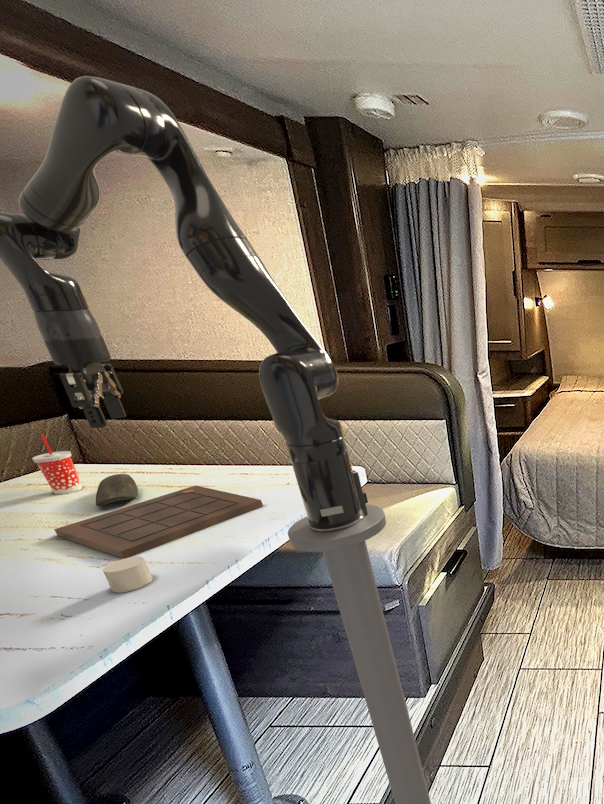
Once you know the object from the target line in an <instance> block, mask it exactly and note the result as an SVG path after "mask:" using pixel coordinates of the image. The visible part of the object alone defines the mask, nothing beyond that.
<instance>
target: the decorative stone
mask: <svg viewBox="0 0 604 804" xmlns="http://www.w3.org/2000/svg"><path fill="white" fill-rule="evenodd" d="M138 496H139V489H138V485H137V483H136V481H135V480H134V478H133V477H132V476H131V475H130V474H128V473H117V474H112V475H108V476H106V477H105V478H103V479H102V480H101V481H100V482H99V484H98V486H97V490H96V494H95V506H96V507H101V506H104V505H108V504H111V503H114V502H119V501H124V500H125V501H126V500H134V499H136V498H138Z"/></svg>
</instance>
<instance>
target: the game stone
mask: <svg viewBox="0 0 604 804" xmlns="http://www.w3.org/2000/svg"><path fill="white" fill-rule="evenodd" d="M102 573H103V575H104V577H105V579H106V581H107V583H108V585H109V588H110V589H111V591H112V592H113V593H117V594H120V593H127V592H132V591H135V590H138V589H140V588H142V587H145V586H147V585H148V584H150V583H151V582H152V581H153V579H154V578H153V575H152V573H151V571H150V569H149V566H148V563H147V562H146V560H145V558H144V557H143V556H130V557H127V558H125V559H124V558H121V559H118V560H116V561H113V562H111V563H108V564H107V565H105V566H104V567H103V568H102Z"/></svg>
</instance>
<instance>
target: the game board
mask: <svg viewBox="0 0 604 804" xmlns="http://www.w3.org/2000/svg"><path fill="white" fill-rule="evenodd" d="M261 507H264V505H263V501H262V499H259V498H255V497H249V496H245V495H241V494H237V493H232V492H228V491H223V490H218V489H215V488H209V487H205V486H201V485H191V486H189V487H186V488H182V489H179V490H176V491H173V492H170V493H166V494H164V495H160V496H157V497H153V498H149V499H146V500H144V501H141V502H138V503H135V504H131V505H128V506H124V507H122V508H121V507H120V508H119V509H114V510H112V511H111V510H110V511H108V512H105V513H102V514H99V515H96V516H92V517H89V518H86V519H83V520H79V521H76V522H73V523H70V524H66V525H63V526H60V527H56V528H54V532H55V533H56V536H57V537H59V538H63V539H65V540H68V541H70V542H74V543H77V544H81V545H82V546H85V547H89V548H90V549H95V550H98V551H100V552H104V553H106V554H109V555H112V556H115V557H118V558H121V559H125V558H130V557H134V556H135V555H137V554H140V553H144V552H145V551H148V550H150V549H153V548H156V547H159V546H161V545H165V544H167V543H169V542H172V541H174V540H178V539H180V538H183V537H185V536H187V535H190V534H193V533H196V532H199V531H201V530H204V529H206V528H209V527H212V526H214V525H217V524H219V523H222V522H224V521H227V520H230V519H233V518H235V517H238V516H241V515H242V514H243V515H244V514H246V513H248V512H251V511H254V510H256V509H259V508H261Z"/></svg>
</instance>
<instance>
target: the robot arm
mask: <svg viewBox="0 0 604 804" xmlns="http://www.w3.org/2000/svg"><path fill="white" fill-rule="evenodd" d="M49 140H50V141H49V144H48V148H47V150H46V153H45V155H44V158H43V161H42V162H41V164H40V166H38V167H39V168H38V169H37V171H36V172H35V173H34V175H33V176H32V177H31V178H30V180H29V181H28V183H27V184H26V185H25V186H24V188H23V189H22V190H21V193H19V196H18V200H17V201H18V206H19V209H20V210H21V212H22V213H11V212H2V211H1V212H0V263H1V264H2V265H3V266H4V267H5V268H6V269H7V271H8V272H9V273H10V275H11V276H12V278H13V279H14V280H15V281H16V283H17V284H18V285H19V286H20V287H21V289H22V291H23V293H24V295H25V298H26V300H27V303H28V304H29V307H30V309H31V311H32V314H33V317H34V320H35V324H36V327H37V329H38V332H39V333H40V336H41V339H42V340H43V342H44V344H45V347H46V350H47V352H48V354H49V356H50V358H51V360H52V363H53V364H55V365H57V366H67V367H68V371H69V372H66V373H60V374H59V378H60V380H61V382H62V385H63V387H64V390H65V392H66V394H67V397H68V399H69V402H70V404H71V407H73V408H79V409H80V410H82V411H83V414H84V416H85V418H86V420H87V422H88V425H89V427H90V428H91V429H100V428H105V427H107V426H108V425H109V424H108V422H107V420H106V417H105V415H104V413H103V410H102V407H101V406H100V398H102V400H103V403H104V406H105V407H106V410H107V413H108V415H109V417H110V418H111V419H113V420H114V419H124V418H125V417H127V413H126V411H125V409H124V406H123V404H122V401H121V398H122V394H124V389H123V387H122V385H121V383H120V380H119V377H118V376H117V374H116V371H115V369H114V367H113V365H112V363H104V362H109V361H110V360H111V359H112V356H111V354H110V351H109V349H108V346H107V344H106V341H105V339H104V336H103V334H102V332H101V329H100V326H99V324H98V322H97V320H96V318H95V317H94V315H93V313H92V311H91V310H90V307H89V305H88V303H87V300H86V297H85V295H84V293H83V290H82V288H81V286H80V284H79V282H78V281H77V280H76V279H75V278H74V277H72V276H69V275H65V274H60V273H54V272H51V271H48V270H47V269H46V268H44V266H43V265H41V263H39V261H38V260H41V261H42V260H43V261H63V260H67V259H69V258H71V257H73V256H74V255H75V254H76V253H77V252H78V249H79V243H80V238H81V237H80V236H81V231H82V230H81V229H82V226H83V224H84V223H85V222H86V221H87V220H88V219H89V218H90V216H91V215H92V214H93V213H94V211H95V210H96V209H97V207H98V205H99V202H100V199H101V190H100V189H101V188H100V184H99V181H98V179H97V175H96V172H95V169H96V167H97V165H98V164H99V162H101V161H102V160H103V159H104V158H106V157H107V156H108V155H110V154H111V153H117V154H122V155H128V156H135V157H141V158H146V159H147V160H148V161H149V162H150V163H151V164H152V165H153V166H154V168H155V169H156V170H157V172H158V174H159V175H160V176H161V178H162V180H163V181H164V183H165V184H166V186H167V188H168V189H169V192H170V193H171V195H172V198H173V203H174V212H175V213H174V214H175V216H174V217H175V218H174V219H175V220H174V222H175V223H174V224H175V234H176V239H177V243H178V245H179V248H180V250H181V252H182V254H183V255H184V256H185V258H186V260H187V261H188V262H189V264H190V265H191V267H192V268H193V270H194V271H195V272H196V274H197V275H198V277H199V278H200V279H201V281H202V282H203V284H204V285H205V286H206V287H207V288H208V289H209V290H210V291H211V292H212V294H213V295H215V296H216V297H217V298H218V299H220V300H221V301H222V302H223V303H225V304H226V305H227V306H229V307H230V308H231V309H232V310H234V311H235V312H236V313H238V314H239V315H240V316H242V317H243V318H245V319H246V320H247V321H249V322H250V323H251V324H253V325H254V326H255V328H257V329H258V330H259V331H260V332H261V333H262V334H263V336H265V338H266V339H267V340H268V342H269V343H270V344H271V345H272V347H273V349H274V350H275V351H276V352H275V353H271V354H270V355H268V356H265V358H264V359H263V360H262V361H261V362H260V365H259V368H258V370H259V371H258V377H259V378H258V379H259V384H260V387H261V390H262V393H263V396H264V400H265V402H266V404H267V407H268V410H269V413H270V416H271V418H272V421H273V423H274V425H275V427H276V429H277V430H278V431H279V433H280V434H281V435H282V436H283V439H284V442H285V445H286V448H287V452H288V455H289V459H290V463H291V467H292V469H293V473H294V477H295V479H296V483H297V486H298V490H299V493H300V496H301V501H302V503H303V507H304V511H305V514H306V516H307V517H308V521H309V526H310V529H311V530H312V531H315V532H333V531H338V530H342V529H346V528H349V527H351V526H354V525H356V524H357V523H359V522H360V521H362V520H363V518H364V517H365V516H367V515H368V512H367V508H366V504H368V503H369V500H368V496H367V493H366V492H364V491H363V487H362V484H361V483H362V482H361V479H360V476H359V472H358V471H357V470H353V466H352V462H351V459H350V455H349V451H348V448H347V443H346V439H345V436H344V430H343V427H342V424H341V421H339V420H338V419H336V418H332V417H327V416H326V415H325V414H324V413H323V410H322V407H321V403H320V400H322V399H324V398H327V397H330V396H331V395H333V394H334V393H336V391H337V389H338V386H339V384H340V383H339V382H340V379H339V373H338V369H337V368H336V366H335V363H334V362H333V360H332V359H331V357H330V356H329V354H328V353H327V352H326V350H325V349H324V347H323V346H322V345H321V343H320V342H318V340H317V339H316V338H315V337H314V335H313V334H312V333H311V332H310V330H309V329H308V328H307V326H306V325H305V324H304V322H303V321H302V320H301V318H300V317H299V316H298V314H297V313H296V312H295V310H294V309H293V307H292V305H291V304H290V303H289V301H288V299H287V298H286V296H285V295H284V294H283V292H282V290H281V289H280V288H279V286H278V285H277V284H276V282H275V280H274V279H273V278H272V276H271V275H270V273H269V271H268V269H267V268H266V266H265V265H264V263H263V261H262V260H261V258H260V256H259V254H258V253H257V252H256V250H255V249H254V247H253V245H252V244H251V242H250V241H249V239H248V238H247V236H246V235H245V234H244V232H243V231H242V229H241V228H240V226H239V225H238V224H237V222H236V220H235V218H234V217H233V216H232V214H231V213H230V211H229V209H228V207H227V206H226V205H225V202H224V201H223V199H222V198H221V196H220V195H219V193H218V191H217V190H216V188H215V186H214V184H213V183H212V181H211V180H210V178H209V176H208V175H207V173H206V171H205V169H204V167H203V165H202V163H201V162H200V160H199V158H198V155H197V154H196V152H195V150H194V148H193V146H192V144H191V142H190V141H189V139H188V137H187V135H186V133H185V131H184V130H183V128H182V126H181V124H180V122H179V120H178V119H177V118H176V116H175V115H174V113H173V112H172V111H171V109H170V108H169V106H167V105H166V103H164V101H163V100H162V99H160V98H159V96H157V95H155V94H153V93H151V92H149V91H147V90H145V89H141V88H138V87H135V86H132V85H128V84H124V83H120V82H117V81H114V80H110V79H106V78H102V77H97V76H91V75H83V76H82V75H81V76H79V77H76V78H75V79H74V80H73V81H71V83H70V84H69V86H68V87H67V89H66V91H65V92H64V96H63V98H62V101H61V104H60V106H59V109H58V114H57V117H56V120H55V122H54V126H53V130H52V132H51V136H50V139H49Z"/></svg>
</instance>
